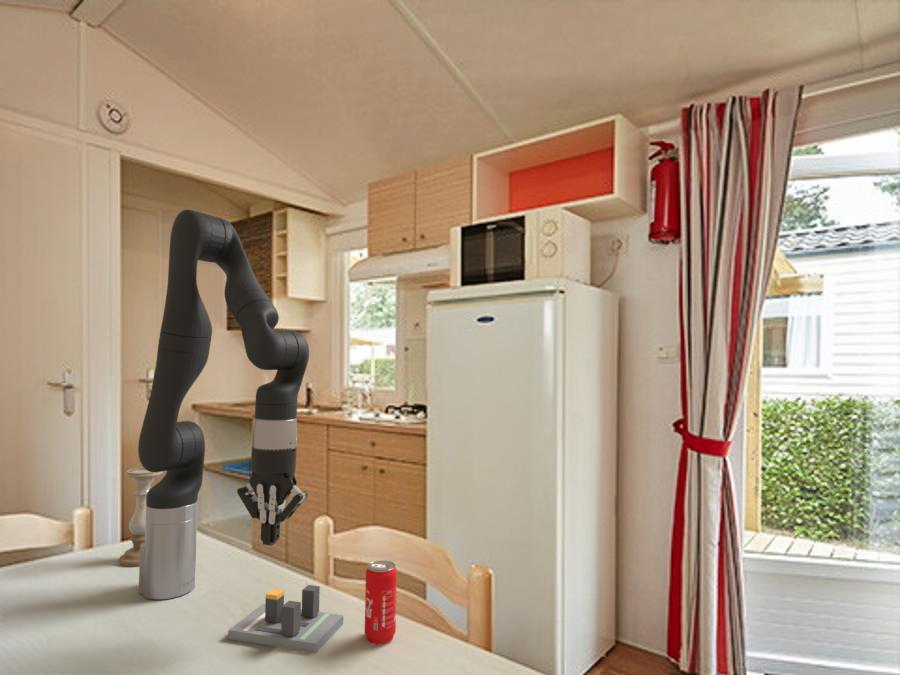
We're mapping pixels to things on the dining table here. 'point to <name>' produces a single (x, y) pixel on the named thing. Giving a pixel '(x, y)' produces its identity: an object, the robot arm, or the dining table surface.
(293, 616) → the block
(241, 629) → the panel
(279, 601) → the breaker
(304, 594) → the block
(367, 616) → the beverage can
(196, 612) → the dining table surface
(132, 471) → the candle holder
